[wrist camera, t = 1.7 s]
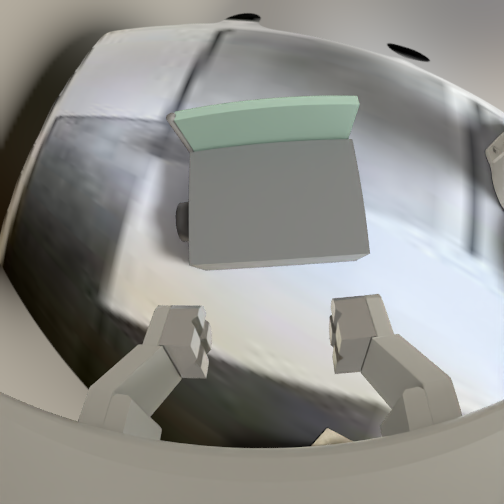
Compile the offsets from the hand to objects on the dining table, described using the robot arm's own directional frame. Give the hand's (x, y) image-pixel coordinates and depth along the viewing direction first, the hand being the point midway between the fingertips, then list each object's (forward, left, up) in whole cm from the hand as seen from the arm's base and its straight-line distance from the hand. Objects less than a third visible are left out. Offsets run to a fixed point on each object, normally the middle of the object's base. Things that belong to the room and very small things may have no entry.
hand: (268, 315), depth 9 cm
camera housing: (-8, -8, -29) cm, 31 cm away
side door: (-13, -15, -29) cm, 35 cm away
